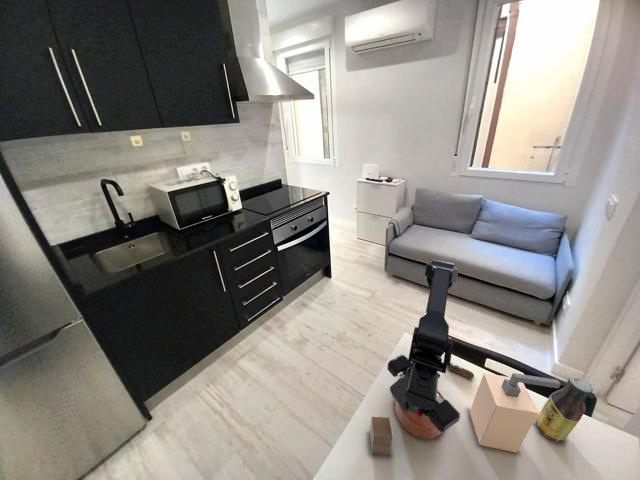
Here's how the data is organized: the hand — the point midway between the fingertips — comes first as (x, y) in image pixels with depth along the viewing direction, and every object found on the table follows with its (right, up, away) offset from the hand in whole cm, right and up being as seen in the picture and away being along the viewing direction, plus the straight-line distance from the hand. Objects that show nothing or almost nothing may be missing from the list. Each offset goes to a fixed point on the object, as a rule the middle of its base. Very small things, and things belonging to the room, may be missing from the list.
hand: (415, 409), depth 69 cm
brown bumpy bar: (+20, +2, +15) cm, 25 cm away
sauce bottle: (+36, -6, 0) cm, 36 cm away
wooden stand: (-10, -8, -2) cm, 13 cm away
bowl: (+3, -4, +5) cm, 7 cm away
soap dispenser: (+22, -6, 0) cm, 23 cm away
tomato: (0, +1, 0) cm, 1 cm away
